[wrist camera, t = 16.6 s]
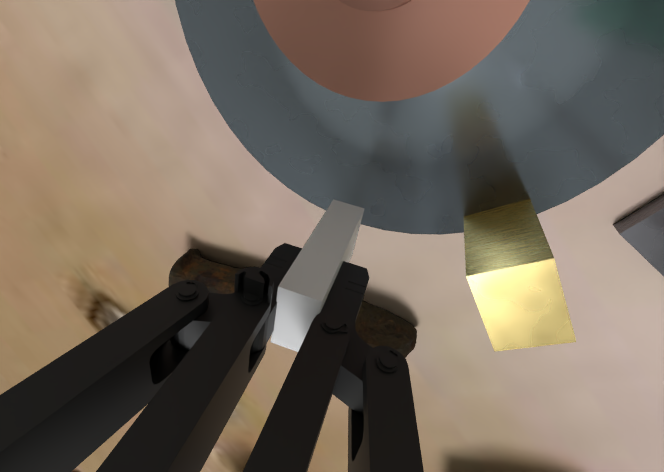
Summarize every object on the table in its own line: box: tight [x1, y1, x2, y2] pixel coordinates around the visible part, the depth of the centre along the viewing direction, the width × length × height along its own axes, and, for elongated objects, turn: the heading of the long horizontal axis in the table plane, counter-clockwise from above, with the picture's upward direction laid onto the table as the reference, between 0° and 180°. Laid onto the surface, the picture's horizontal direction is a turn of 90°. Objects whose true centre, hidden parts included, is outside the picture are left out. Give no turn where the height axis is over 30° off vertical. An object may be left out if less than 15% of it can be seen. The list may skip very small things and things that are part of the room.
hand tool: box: [169, 249, 417, 358], centre depth 29 cm, size 19×4×5 cm, turn 80°
